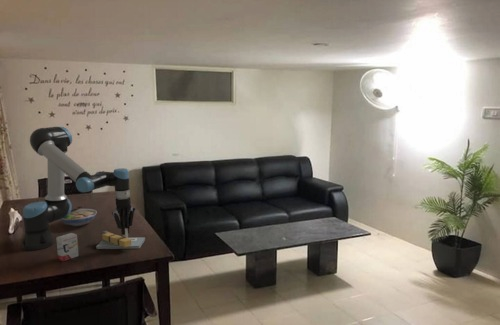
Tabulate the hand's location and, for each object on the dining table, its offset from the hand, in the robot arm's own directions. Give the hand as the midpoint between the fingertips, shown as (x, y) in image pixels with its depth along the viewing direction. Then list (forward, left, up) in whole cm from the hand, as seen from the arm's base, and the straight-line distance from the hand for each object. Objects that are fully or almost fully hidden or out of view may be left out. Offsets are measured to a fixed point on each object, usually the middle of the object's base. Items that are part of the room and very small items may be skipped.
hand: (125, 239), depth 209 cm
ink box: (-25, -13, -5) cm, 29 cm away
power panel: (-4, +5, -5) cm, 8 cm away
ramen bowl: (-41, +40, -5) cm, 58 cm away
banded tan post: (-6, +1, -2) cm, 6 cm away
